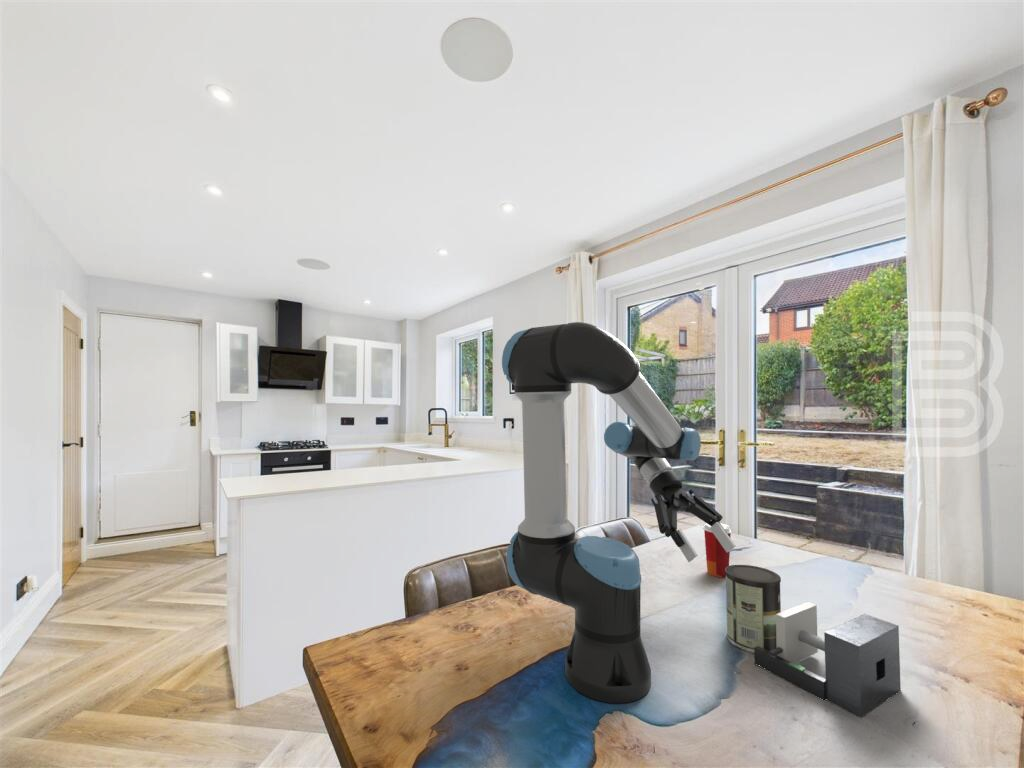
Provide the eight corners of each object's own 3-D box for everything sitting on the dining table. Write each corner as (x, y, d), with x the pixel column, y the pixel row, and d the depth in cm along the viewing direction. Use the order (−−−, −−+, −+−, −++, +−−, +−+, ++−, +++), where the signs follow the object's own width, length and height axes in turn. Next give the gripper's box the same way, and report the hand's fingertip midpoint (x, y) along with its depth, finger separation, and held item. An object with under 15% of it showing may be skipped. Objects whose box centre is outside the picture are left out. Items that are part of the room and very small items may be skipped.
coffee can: (771, 632, 96) (769, 566, 97) (790, 658, 86) (789, 584, 87) (720, 626, 99) (719, 562, 99) (733, 652, 88) (732, 579, 89)
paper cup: (733, 572, 131) (733, 524, 132) (730, 581, 125) (730, 530, 125) (705, 567, 135) (704, 520, 136) (700, 575, 129) (700, 526, 130)
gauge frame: (754, 663, 84) (753, 604, 85) (797, 644, 92) (796, 589, 92) (859, 719, 70) (857, 647, 70) (900, 690, 77) (898, 625, 77)
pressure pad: (767, 668, 81) (766, 617, 82) (809, 648, 88) (807, 601, 89) (834, 703, 72) (833, 646, 72) (875, 678, 79) (873, 626, 79)
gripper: (685, 482, 124) (735, 553, 110) (618, 490, 112) (665, 571, 98) (701, 466, 120) (756, 537, 106) (633, 472, 107) (685, 554, 94)
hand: (713, 554), depth 102 cm, fingers open, 13 cm apart
